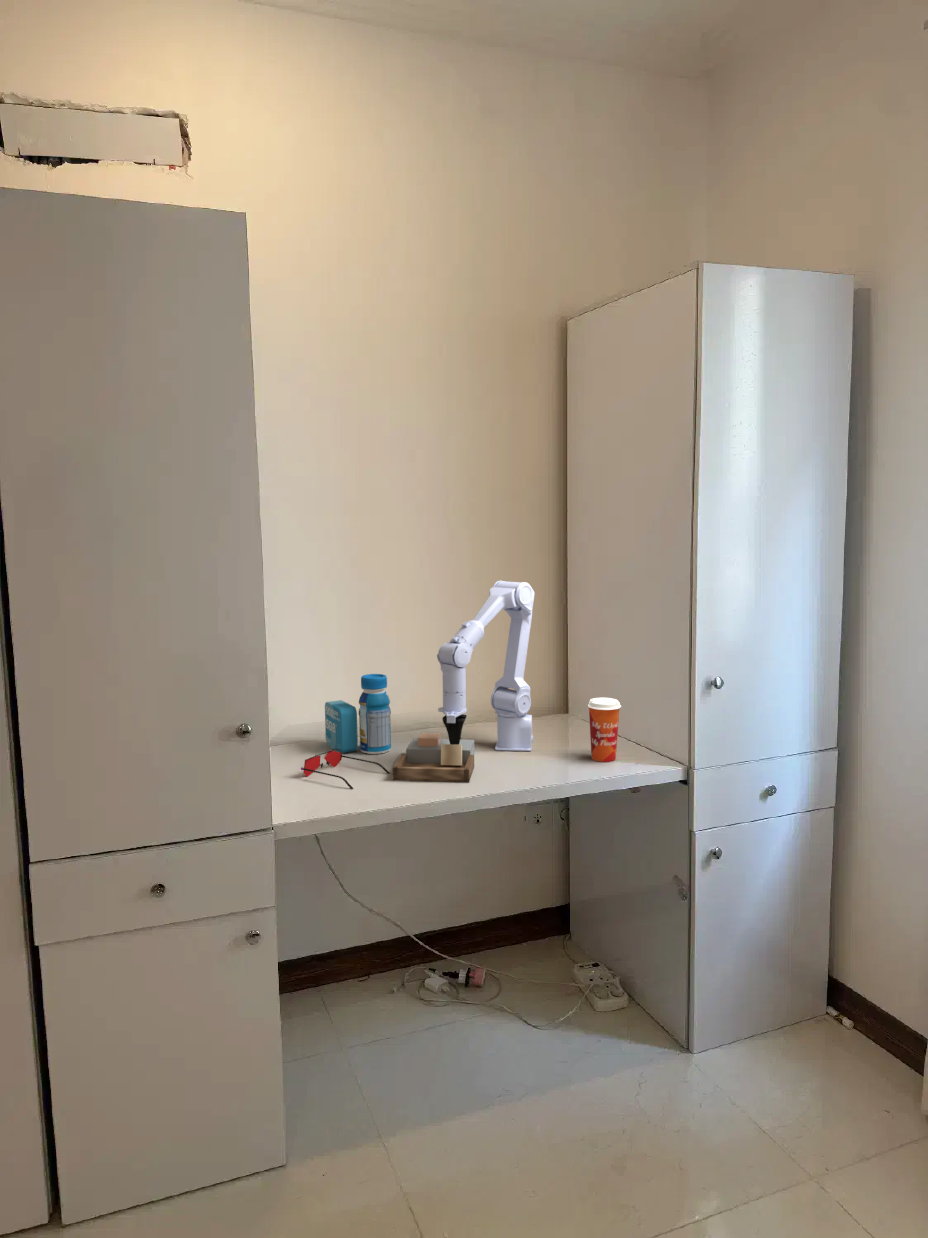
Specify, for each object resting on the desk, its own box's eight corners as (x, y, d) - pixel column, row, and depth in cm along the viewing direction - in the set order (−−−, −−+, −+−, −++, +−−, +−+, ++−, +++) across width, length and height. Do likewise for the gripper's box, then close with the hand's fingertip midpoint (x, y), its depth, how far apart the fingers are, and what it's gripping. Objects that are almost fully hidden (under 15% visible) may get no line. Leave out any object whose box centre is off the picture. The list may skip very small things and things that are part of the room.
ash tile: (462, 744, 216) (461, 744, 214) (462, 765, 215) (461, 765, 213) (442, 744, 216) (441, 744, 214) (442, 765, 216) (440, 765, 214)
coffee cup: (589, 763, 218) (589, 704, 216) (585, 754, 226) (585, 697, 224) (623, 763, 217) (623, 704, 216) (618, 754, 226) (618, 697, 224)
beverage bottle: (380, 756, 226) (379, 680, 223) (353, 752, 229) (351, 677, 227) (397, 748, 233) (396, 674, 231) (370, 744, 237) (369, 671, 234)
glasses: (339, 764, 220) (339, 745, 220) (391, 775, 211) (390, 755, 210) (300, 779, 209) (299, 758, 208) (352, 791, 200) (351, 769, 199)
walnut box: (474, 766, 216) (474, 754, 216) (469, 782, 204) (469, 769, 203) (402, 765, 218) (402, 753, 218) (392, 780, 206) (392, 768, 205)
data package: (325, 744, 238) (324, 701, 237) (341, 741, 240) (340, 699, 239) (342, 754, 228) (340, 709, 226) (358, 752, 230) (357, 707, 228)
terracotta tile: (440, 741, 225) (440, 733, 224) (437, 746, 220) (437, 738, 220) (421, 740, 225) (421, 733, 225) (418, 746, 220) (417, 738, 220)
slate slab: (474, 754, 226) (474, 739, 226) (470, 766, 216) (470, 750, 216) (413, 753, 228) (412, 738, 228) (406, 764, 218) (406, 749, 218)
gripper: (442, 684, 224) (442, 736, 226) (433, 697, 210) (434, 752, 211) (469, 685, 223) (470, 737, 225) (463, 697, 209) (463, 753, 211)
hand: (454, 744), depth 218 cm, fingers closed
